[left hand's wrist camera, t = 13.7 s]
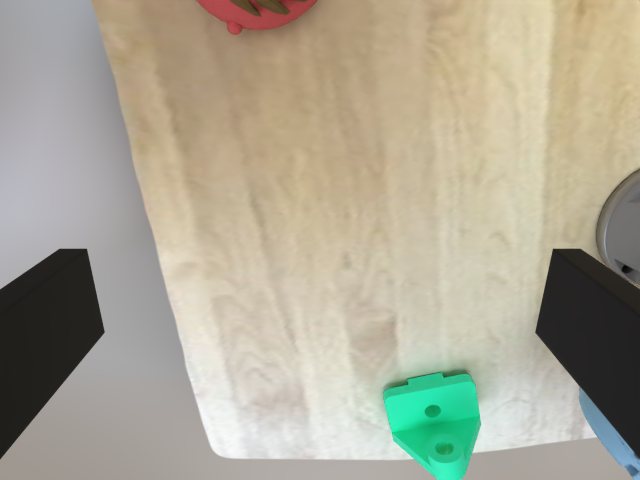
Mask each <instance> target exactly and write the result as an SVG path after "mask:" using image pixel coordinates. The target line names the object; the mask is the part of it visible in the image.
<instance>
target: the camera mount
mask: <svg viewBox="0 0 640 480" xmlns="http://www.w3.org/2000/svg"><path fill="white" fill-rule="evenodd" d="M407 381H408V385H404V386H399V387H394V388H389V389H387V390H385V391H384V393H383V398H384V403H385V407H386V411H387V415H388V419H389V423H390V428H391V432H392V436H393V440H394V441H395V442H396V443H397V444H398V445H399V446H400V447H401V448H402V449H404V450H405V451H406V452H407V453H408V454H409V455H410V456H412V457H413V458H414V459H415V460H416V461H417V462H418V463H420V464H421V465H422V466H423V467H424V468H425V469H426V470H428V471H429V472H430V473H431V474H432V475H433V476H434V477H435V478H437V479H438V480H460V479H462V478H463V477H464V475H465V473H466V470H467V467H468V464H469V461H470V458H471V455H472V451H473V448H474V445H475V442H476V439H477V436H478V432H479V429H480V426H481V421H480V414H479V407H478V400H477V393H476V386H475V384H474V382H473V380H472V378H471V376H470V375H468V374H460V375H455V376H450V377H445V378H443V375H442V373H436V374H431V375H426V376H421V377H416V378H411V379H407Z"/></svg>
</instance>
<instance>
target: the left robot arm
mask: <svg viewBox="0 0 640 480" xmlns="http://www.w3.org/2000/svg"><path fill="white" fill-rule="evenodd" d="M596 239H597V246H598V250H599V253H600V255H601V257H602V259H603V260H604V262H605V263H606V264H607V266H609V267H610V268H611V269H612V270H613V271H612V270H611V269H609V268H608V267H606V266H605V265H603V264H602V263H600V262H599V261H597V260H596V259H595V258H593V257H592V256H590V255H589V254H587V253H586V252H584V251H583V250H581V249H553V252H552V256H551V261H550V266H549V271H548V275H547V280H546V285H545V289H544V294H543V299H542V303H541V308H540V313H539V318H538V322H537V327H536V332H535V333H536V334H537V335H538V336H539V337H540V339H541V340H542V341H543V342H544V344H545V345H546V346H547V347H548V348H549V350H550V351H551V352H552V353H553V354H554V356H555V357H556V358H557V359H558V361H559V362H560V363H561V364H562V365H563V367H564V368H565V369H566V370H567V371H568V373H569V374H570V375H571V376H572V378H573V379H574V380H575V381H576V382H577V384H578V385H579V386H580V391H579V401H580V405H581V408H582V411H583V413H584V415H585V417H586V419H587V421H588V423H589V425H590V426H591V428H592V429H593V431H594V433H595V434H596V435H597V437H598V438H599V440H600V441H601V443H602V444H603V445H604V446H605V448H606V449H607V450H608V452H609V453H610V454H611V455H612V457H613V458H614V459H615V460H616V461H617V462H618V463H619V464H620V465H621V466H624V467H625V468H626V469H627V471H628V472H629V474H630V475H631V477H632V478H633V479H634V480H640V289H638V288H637V287H635V286H634V285H633V284H631V283H630V282H628V281H631V282H633V283H636V284H639V285H640V170H638V171H637V172H635V173H634V174H632V175H631V176H630V177H628V178H627V179H626V180H625V181H624V182H622V183H621V184H620V185H619V186H618V188H617V189H616V190H615V191H614V192H613V193H612V195H611V196H610V198H609V199H608V200H607V202H606V204H605V206H604V208H603V210H602V212H601V215H600V217H599V221H598V225H597V233H596ZM615 272H616V273H617V274H616V273H615ZM618 274H619V275H620V276H619V275H618ZM621 276H622V277H623V278H622V277H621ZM624 278H625V279H627V280H628V281H627V280H625V279H624ZM103 334H104V327H103V322H102V318H101V313H100V308H99V304H98V299H97V294H96V289H95V285H94V280H93V275H92V271H91V266H90V261H89V256H88V252H87V249H59V250H57V251H56V252H54V253H53V254H51V255H50V256H48V257H47V258H45V259H44V260H43V261H41V262H40V263H38V264H37V265H35V266H34V267H32V268H31V269H29V270H28V271H27V272H25V273H24V274H22V275H21V276H19V277H18V278H16V279H15V280H13V281H12V282H10V283H9V284H7V285H6V286H5V287H3V288H2V289H0V459H1V458H2V456H3V455H4V454H5V453H6V452H7V450H8V449H9V448H10V447H11V446H12V444H13V443H14V442H15V441H16V439H17V438H18V437H19V436H20V435H21V433H22V432H23V431H24V430H25V428H26V427H27V426H28V425H29V424H30V422H31V421H32V420H33V419H34V418H35V416H36V415H37V414H38V413H39V412H40V410H41V409H42V408H43V407H44V405H45V404H46V403H47V402H48V401H49V399H50V398H51V397H52V396H53V395H54V393H55V392H56V391H57V390H58V388H59V387H60V386H61V385H62V384H63V382H64V381H65V380H66V379H67V378H68V376H69V375H70V374H71V373H72V371H73V370H74V369H75V368H76V367H77V365H78V364H79V363H80V362H81V361H82V359H83V358H84V357H85V356H86V354H87V353H88V352H89V351H90V349H91V348H92V347H93V346H94V345H95V343H96V342H97V341H98V340H99V339H100V337H101V336H102V335H103Z"/></svg>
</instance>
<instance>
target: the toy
mask: <svg viewBox="0 0 640 480" xmlns="http://www.w3.org/2000/svg"><path fill="white" fill-rule="evenodd" d="M197 1H198V3H199V4H201V5H202V6H203V7H204V8H205V9H206V10H207V11H208V12H209V13H210V14H212V15H214V16H215V17H217V18H218V19H220V20H222V21H224V22H227V29H228V31H229V32H230V33H231V34H233V35H237V34H239V33H240V32H241V30H242V28H246V29H250V30H266V29H272V28H277V27H279V26H282V25H285V24H287V23H289V22H291V21H293V20H295V19H297V18H298V17H299V16H301V15H302V14H304V13H305V12H306V11H307V10H308V9H309V8H310V7H312V6H313V5H314V3H315V2H316V1H317V0H197Z"/></svg>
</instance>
